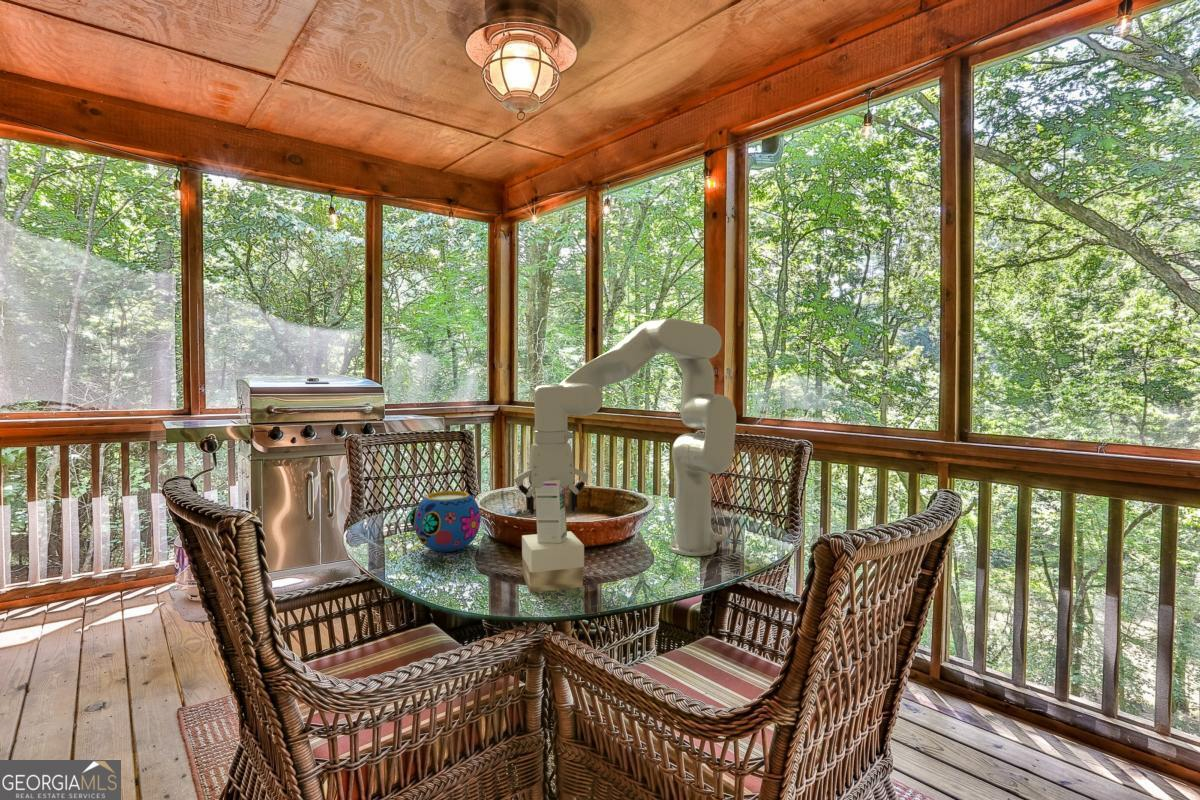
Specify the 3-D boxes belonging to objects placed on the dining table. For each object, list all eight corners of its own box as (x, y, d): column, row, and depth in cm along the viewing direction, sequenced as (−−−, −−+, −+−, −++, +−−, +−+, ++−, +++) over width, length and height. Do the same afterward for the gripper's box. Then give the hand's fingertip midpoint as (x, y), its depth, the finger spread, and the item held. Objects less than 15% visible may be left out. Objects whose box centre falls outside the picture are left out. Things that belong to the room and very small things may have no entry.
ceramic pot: (403, 548, 163) (402, 494, 162) (461, 536, 174) (461, 485, 174) (432, 564, 150) (431, 505, 149) (493, 549, 161) (492, 495, 160)
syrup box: (561, 543, 134) (559, 480, 133) (536, 542, 135) (534, 479, 134) (567, 536, 140) (565, 475, 139) (542, 535, 141) (541, 475, 140)
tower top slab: (570, 551, 145) (570, 531, 145) (584, 566, 134) (584, 545, 133) (522, 556, 142) (521, 535, 141) (531, 572, 130) (531, 550, 130)
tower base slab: (571, 571, 146) (571, 551, 145) (582, 588, 134) (582, 566, 134) (522, 575, 142) (522, 555, 142) (530, 594, 131) (529, 572, 131)
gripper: (583, 435, 142) (584, 505, 143) (511, 437, 138) (512, 510, 139) (591, 438, 135) (592, 512, 136) (515, 441, 130) (516, 518, 131)
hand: (551, 511), depth 137 cm, fingers open, 9 cm apart
